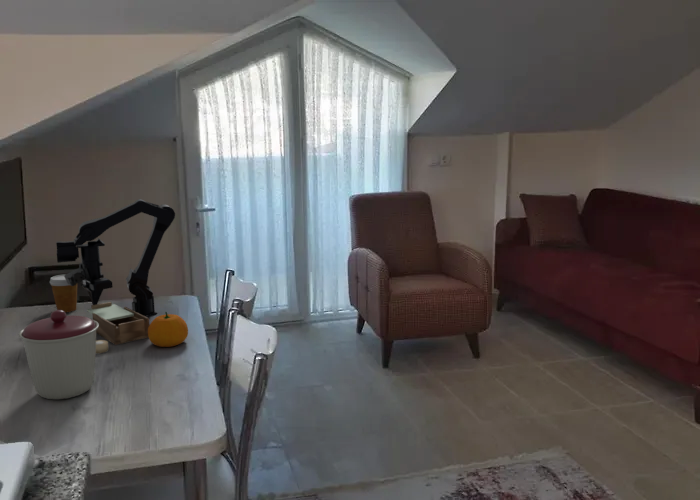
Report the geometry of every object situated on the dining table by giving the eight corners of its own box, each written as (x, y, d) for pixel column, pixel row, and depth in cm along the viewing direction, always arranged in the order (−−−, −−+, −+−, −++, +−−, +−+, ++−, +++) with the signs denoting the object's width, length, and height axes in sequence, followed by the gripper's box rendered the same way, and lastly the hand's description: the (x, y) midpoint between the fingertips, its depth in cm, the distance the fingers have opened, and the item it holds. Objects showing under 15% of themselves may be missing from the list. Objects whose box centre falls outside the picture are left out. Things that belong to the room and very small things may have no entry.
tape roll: (104, 346, 203) (103, 338, 203) (111, 350, 199) (110, 342, 199) (87, 350, 200) (87, 342, 199) (94, 355, 196) (93, 346, 196)
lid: (114, 306, 228) (114, 300, 227) (133, 315, 216) (133, 310, 216) (87, 311, 222) (86, 306, 221) (105, 321, 210) (105, 316, 210)
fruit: (179, 351, 199) (177, 318, 197) (141, 349, 201) (139, 316, 199) (194, 338, 210) (192, 306, 208) (158, 336, 212) (156, 305, 210)
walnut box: (127, 324, 224) (125, 306, 223) (150, 337, 211) (148, 318, 210) (93, 331, 217) (92, 313, 216) (115, 345, 204) (114, 325, 203)
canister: (119, 386, 173) (113, 306, 169) (57, 412, 158) (48, 325, 154) (72, 373, 182) (65, 297, 178) (9, 397, 167) (0, 314, 163)
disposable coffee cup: (51, 308, 244) (48, 275, 242) (80, 305, 248) (77, 272, 245) (52, 315, 235) (49, 281, 233) (82, 311, 239) (79, 278, 237)
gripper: (56, 259, 227) (60, 304, 230) (76, 268, 213) (80, 316, 217) (89, 254, 234) (93, 298, 237) (111, 262, 221) (115, 309, 224)
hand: (94, 305), depth 229 cm, fingers closed
